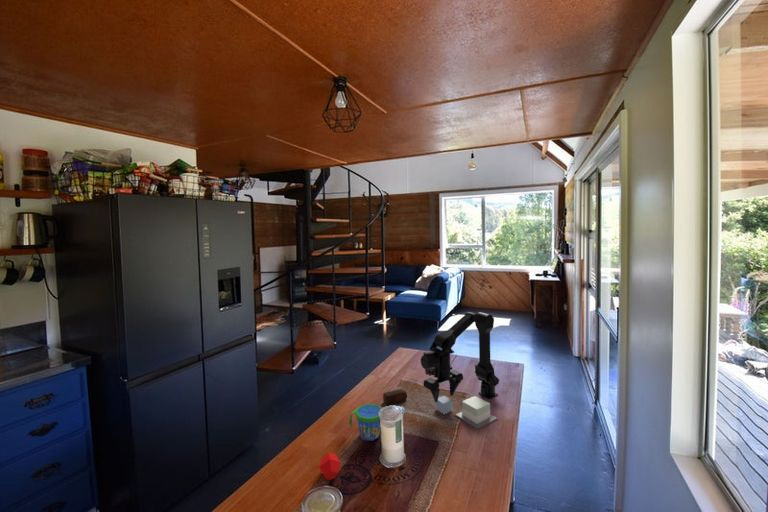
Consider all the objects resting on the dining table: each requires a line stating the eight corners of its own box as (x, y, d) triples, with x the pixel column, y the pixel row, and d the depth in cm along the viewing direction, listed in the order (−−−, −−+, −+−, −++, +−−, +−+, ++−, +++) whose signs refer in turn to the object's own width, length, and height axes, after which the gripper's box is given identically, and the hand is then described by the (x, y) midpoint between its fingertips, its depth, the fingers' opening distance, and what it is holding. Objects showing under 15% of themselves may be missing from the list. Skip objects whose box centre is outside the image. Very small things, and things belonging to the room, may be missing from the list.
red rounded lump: (340, 467, 102) (337, 444, 109) (319, 475, 101) (316, 450, 108) (344, 480, 105) (340, 456, 112) (323, 487, 104) (320, 463, 111)
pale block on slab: (474, 407, 146) (474, 392, 145) (497, 419, 136) (497, 404, 135) (455, 415, 139) (455, 400, 139) (477, 429, 129) (477, 413, 129)
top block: (443, 406, 147) (443, 395, 147) (451, 411, 143) (451, 400, 143) (435, 409, 144) (435, 398, 144) (443, 414, 140) (443, 403, 140)
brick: (387, 406, 148) (386, 396, 148) (383, 402, 152) (382, 392, 151) (407, 400, 153) (407, 391, 153) (402, 397, 156) (402, 387, 156)
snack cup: (393, 431, 129) (392, 406, 128) (385, 448, 119) (384, 421, 118) (356, 425, 134) (355, 401, 133) (345, 440, 124) (344, 414, 123)
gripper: (446, 353, 154) (446, 385, 155) (415, 363, 144) (415, 397, 145) (463, 361, 145) (464, 395, 146) (432, 371, 135) (432, 408, 136)
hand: (443, 398), depth 143 cm, fingers open, 9 cm apart
